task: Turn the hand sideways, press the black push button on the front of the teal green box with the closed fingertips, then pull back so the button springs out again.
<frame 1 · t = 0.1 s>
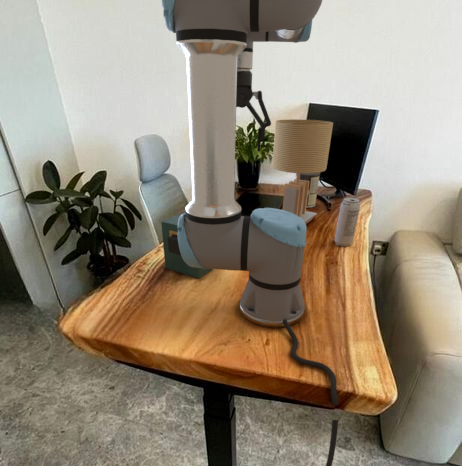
hand: (237, 150, 112), 28 cm above the table, tool pointing down, fingers open, 13 cm apart
desk lamp: (293, 221, 140), on the table
teal green box: (189, 268, 102), on the table
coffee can: (304, 204, 159), on the table
energy drink can: (342, 244, 120), on the table
button: (179, 243, 95), point 9 cm above the table, slide at 0.0 cm
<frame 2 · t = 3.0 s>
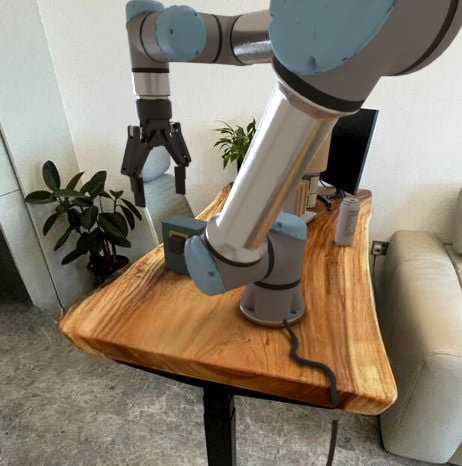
hand: (161, 200, 84), 22 cm above the table, tool pointing down, fingers open, 13 cm apart
nothing on the table moved.
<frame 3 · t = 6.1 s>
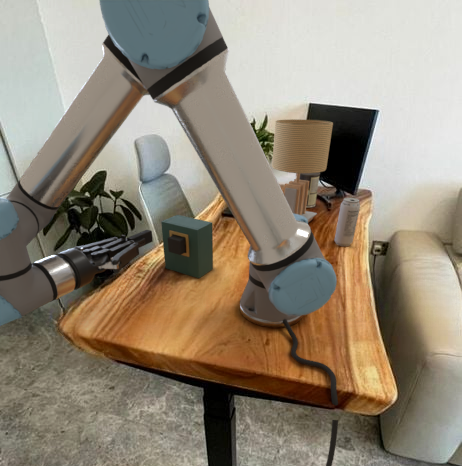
hand: (149, 235, 84), 15 cm above the table, tool horizontal, fingers closed
nothing on the table moved.
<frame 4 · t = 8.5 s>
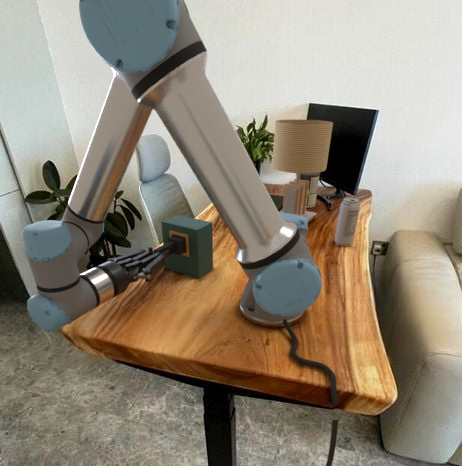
hand: (172, 246, 93), 9 cm above the table, tool horizontal, fingers closed
button: (179, 243, 95), point 9 cm above the table, slide at 0.0 cm, touching gripper
everything else where it was.
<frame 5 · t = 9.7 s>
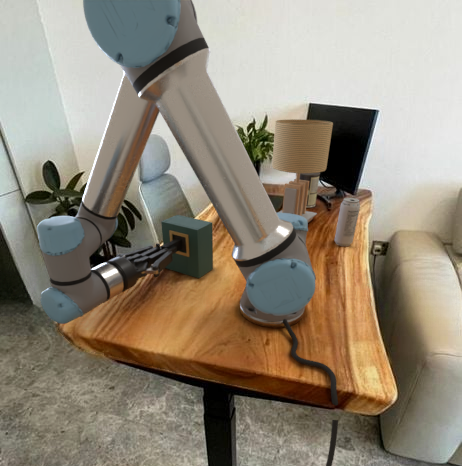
hand: (179, 243, 95), 9 cm above the table, tool horizontal, fingers closed
button: (185, 240, 97), point 9 cm above the table, slide at -2.7 cm, touching gripper
everything else where it was.
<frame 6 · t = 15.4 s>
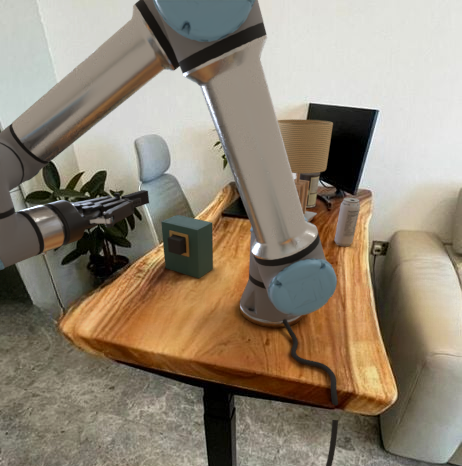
hand: (146, 196, 79), 24 cm above the table, tool horizontal, fingers closed
button: (179, 243, 95), point 9 cm above the table, slide at 0.1 cm
everything else where it was.
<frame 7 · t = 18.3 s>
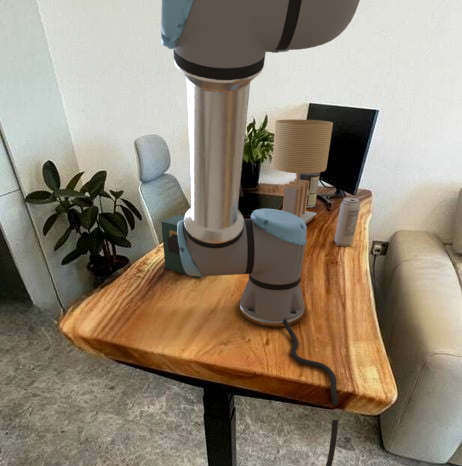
hand: (237, 197, 88), 22 cm above the table, tool tilted 25°, fingers closed
nothing on the table moved.
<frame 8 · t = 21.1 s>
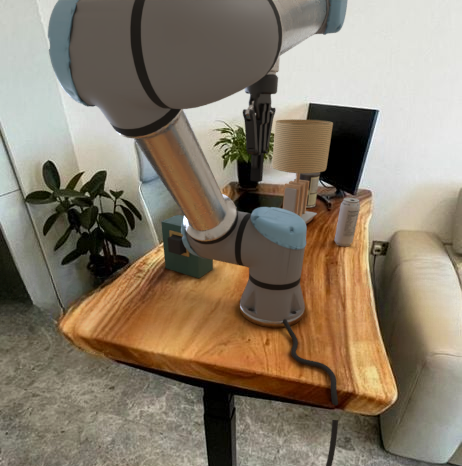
hand: (256, 180, 92), 24 cm above the table, tool pointing down, fingers closed
nothing on the table moved.
at the end: button pushed in 2.7 cm at the most during the clip, back to where it started at the end; button slide at 0.1 cm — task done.
